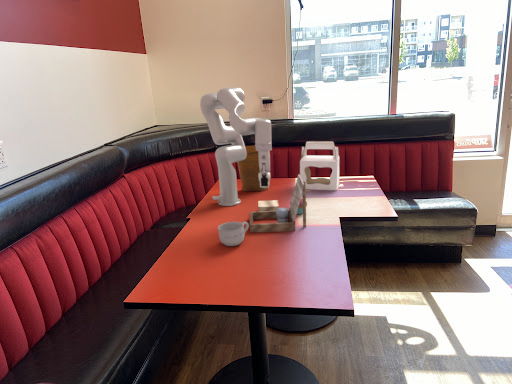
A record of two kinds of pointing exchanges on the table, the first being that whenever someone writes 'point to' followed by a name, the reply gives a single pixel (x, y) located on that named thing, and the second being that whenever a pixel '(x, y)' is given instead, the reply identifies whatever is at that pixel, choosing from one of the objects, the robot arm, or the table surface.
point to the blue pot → (282, 215)
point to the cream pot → (262, 177)
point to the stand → (268, 205)
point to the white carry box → (320, 166)
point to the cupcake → (300, 207)
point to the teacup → (232, 233)
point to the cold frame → (292, 213)
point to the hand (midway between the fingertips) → (264, 183)
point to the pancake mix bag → (250, 170)
